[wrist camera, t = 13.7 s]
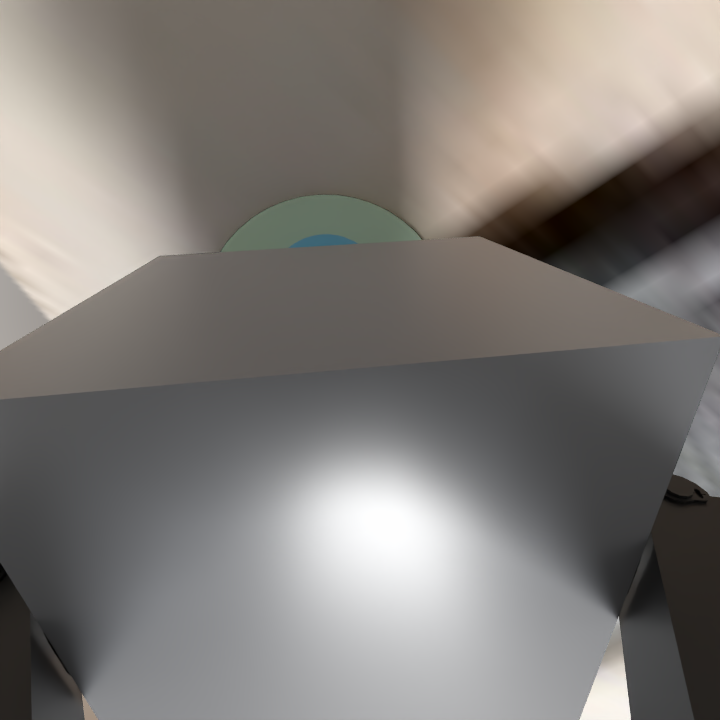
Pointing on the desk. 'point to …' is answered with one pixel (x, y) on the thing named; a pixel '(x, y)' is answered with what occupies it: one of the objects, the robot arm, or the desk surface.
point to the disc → (319, 223)
